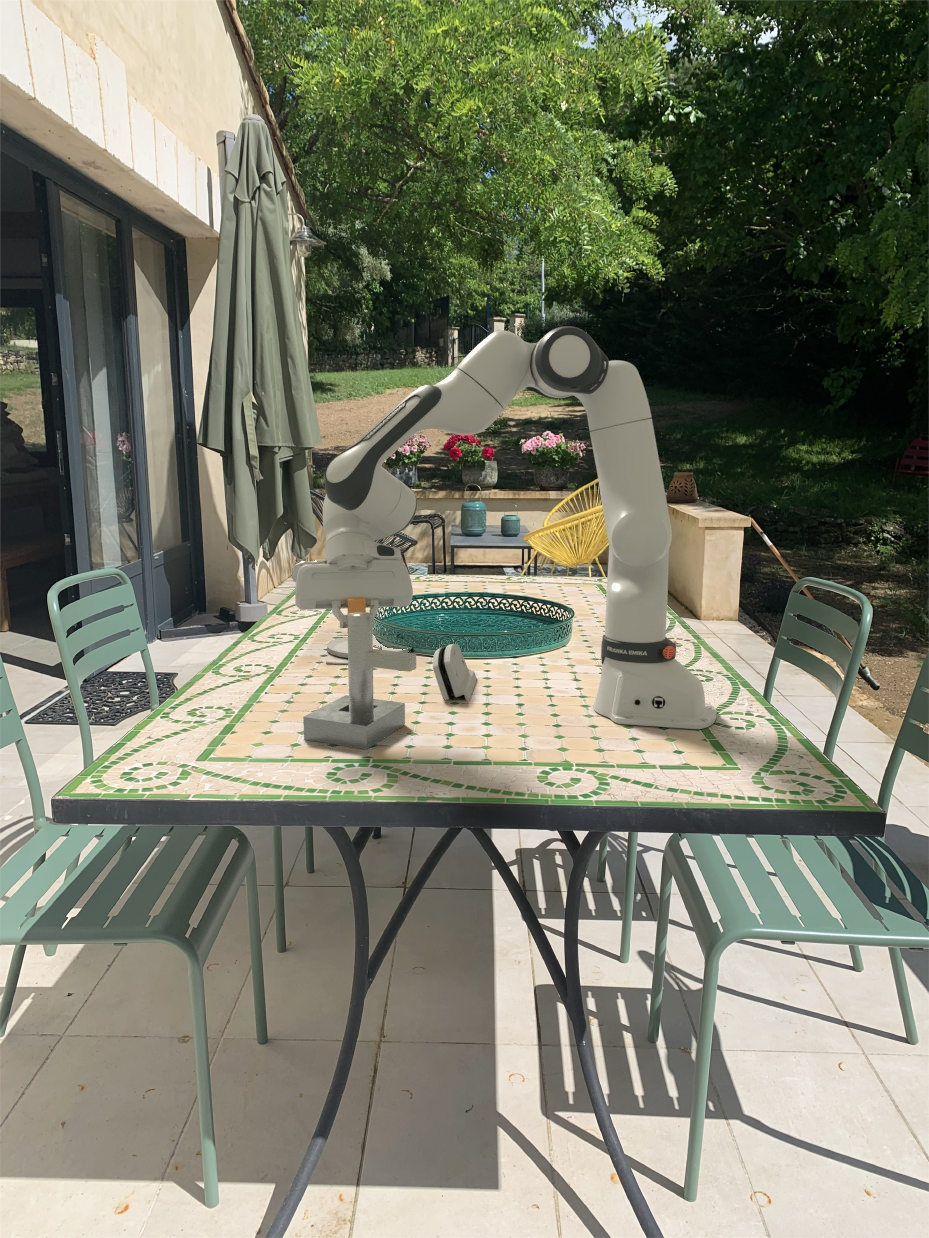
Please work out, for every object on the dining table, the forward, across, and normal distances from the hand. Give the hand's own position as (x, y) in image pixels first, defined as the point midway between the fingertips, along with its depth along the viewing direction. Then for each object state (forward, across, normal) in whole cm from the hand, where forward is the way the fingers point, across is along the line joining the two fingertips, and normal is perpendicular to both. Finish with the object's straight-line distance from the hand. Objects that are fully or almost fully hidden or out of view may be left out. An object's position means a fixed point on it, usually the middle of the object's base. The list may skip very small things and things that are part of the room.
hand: (357, 626), depth 153 cm
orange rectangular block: (+3, 0, +4) cm, 5 cm away
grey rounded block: (-3, +22, +30) cm, 37 cm away
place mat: (-28, +8, +56) cm, 63 cm away
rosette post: (+15, +2, +11) cm, 19 cm away
